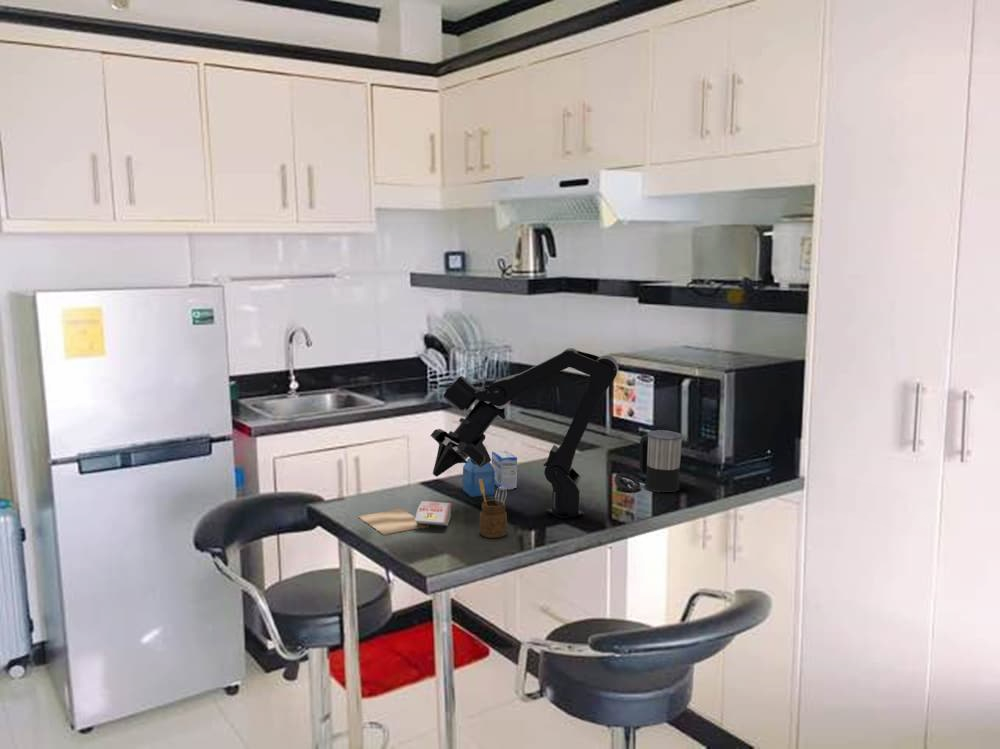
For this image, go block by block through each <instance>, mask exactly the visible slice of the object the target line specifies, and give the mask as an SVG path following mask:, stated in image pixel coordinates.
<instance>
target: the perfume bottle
mask: <svg viewBox="0 0 1000 749" xmlns="http://www.w3.org/2000/svg"><path fill="white" fill-rule="evenodd" d="M466 461H467V462H468V463H464V465H463V466H462V490H463V492H464V493H466V494H467V495H469V497H471V498H473V497H474V498H475V497H483V494H482V493H481V489H480V484H479V480H480V479H481V478H482V481H483V485H484V489H485V496H492V495H495V485H494V480H495V471H494V469H493V467H492V465H491V464H492V462H491V461H490V462H488V463H487V464H485V465H484V466H482V467H481V468H480V467H479V466H477V465H474V464H473V463H472V462H471V458H469V457H468V458H467V459H466Z"/></svg>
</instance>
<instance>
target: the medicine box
mask: <svg viewBox="0 0 1000 749" xmlns="http://www.w3.org/2000/svg"><path fill="white" fill-rule="evenodd" d="M491 465H492V467H493V469H494V471H495V480H494V486H495V487H497V488H498V487H499V490H502V491H503V490H504V491H507V489H508V490H514V488H516V489H517V483H518V482H517V480H518V479H517V478H518V477H517V474H518V473H517V472H518V457H517V456H515V455H514V454H512V452H510V451H508V450H503V449H502V450H493V451H492V450H491ZM500 486H502V487H501V488H500ZM503 488H504V489H503Z"/></svg>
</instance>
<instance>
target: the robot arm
mask: <svg viewBox="0 0 1000 749" xmlns="http://www.w3.org/2000/svg"><path fill="white" fill-rule="evenodd" d="M568 368H571V369H574V370H576V371H579V372H581V373H582V374H586V375H589V377H588V380H587V381H588V382H587V384H586V385H587V386H586V391H585V393H584V395H583V397H582V400H581V401H580V404H579V406H578V408H577V411H576V413H575V415H574V417H573V418H572V422H571V423H570V426H569V427H568V430H567V432H566V433H565V437H564V439H563V441H562V442H561V443H560V445H559V446H557V445H555V444H553V445H552V447H551V449H550V450H549V455H548V457H547V458H546V460H545V462H544V463H543V467H544V472H543V473H544V476H545V479H546V481H548V483H550V484H551V487H552V491H551V493H552V496H551V498H552V499H551V508H548V509H546V512H548V514H549V513H550V514H552V515H553V516H555V517H558V518H560V519H568V518H572V517H573V518H574V517H578V516H583V515H585V513H584V511H582V510H580V489H579V487H578V485H579V483H580V480H581V475H580V474H579V473H578V472H577V471H576V469H575V468H573V465H574V462H575V458H576V455H577V454H576V453H577V448H578V447H579V444H580V442H581V440H582V437H583V436H584V433H585V432H586V429H587V427H588V425H589V424H590V421H591V418H592V416H593V415H594V412H595V410H596V408H597V405H598V404H599V401H600V399H601V398H602V396H603V395H604V394H605V392H607V390H608V388H609V387H610V385H611V384H612V383H613V381H614V380H615V379H616V376H617V375H618V372H619V364H618V362H617V360H616V359H615V358H614V357H613V356H610V355H601V356H599V355H595V354H592V353H588V352H584V351H580V350H578V349H575V348H572V347H571V348H570V347H569V348H567V349H565V350H564V351H562V352H561V353H559V354H557V355H555V356H552V357H550V358H548V359H547V360H545V361H543V362H541V363H540V362H539V363H538V364H537V365H535V366H533V367H531V368H529V369H526V370H524V371H523V372H520V373H516V374H512V375H509V376H508V375H507V376H505V377H501V378H498V379H496V380H495V381H493V382H492V383H491V384H489V385H488V386H482V387H480V388H479V389H478V388H477V387H476V386H475V385H473V384H472V383H470V382H469V381H468V380H467V379H466V377H464V376H463V375H460V376H458V378H457V379H456V380H455V381H454V382H453V383H452V384H451V385H450V386H449V387H448V389H447V390H446V391H445V393H444V394H443V396H442V398H443V399H444V400H445V401H447V402H448V403H450V404H451V406H453V407H455V409H457V410H459V411H460V412H464V411H467V412H468V411H469V410H470V409H471V408H472V406H473V405H474V406H473V408H472V409H471V410H470V412H469V413H468V414H467V415H466V416H465V418H463V417H460V418H459V420H458V422H459V423H460V424H459V425H458V426H457V428H456V429H455V430H454V431H452V430H450V431H449V432H447V431H445V430H444V429H441V428H437V429H434V430H433V431H432V433H431V434H430V437H431V438H432V439H434V440H435V441H436V443H437V444H438V449H437V454H436V457H435V458H436V459H435V462H434V467H433V470H432V475H433V476H435V477H439V476H440V475H442V474H443V473H445V472H446V471H447V470H449V469H451V468H452V467H453V466H455V465H457V464H465V463H468V462H467V460H468V459H469V458H471V462H472V463H473V464H474V465H477V466H479V467H480V468H481V467H482V466H484V465H485V464H487V463H488V462H490V463H491V462H492V457H490V454H489V452H488V450H487V447H486V446H485V444H484V443H483V442H484V441H485V439H486V435H485V432H486V431H487V430H488V429H489V428H490V426H491V425H492V424H493V422H494V421H495V420H496V419H498V420H500V421H501V422H504V421H505V419H506V413H505V411H506V409H505V407H503V408H499V407H502V406H505V405H506V404H508V403H509V402H510V401H512V400H513V399H514V398H515V397H517V396H519V394H521V393H522V392H524V391H525V390H526V389H528V388H530V387H532V386H533V385H535V384H537V383H540V382H542V381H543V380H545V379H548V378H549V377H552V376H554V375H555V374H558V373H561V372H562V371H564V370H566V369H568ZM476 402H477V403H476ZM475 403H476V404H475Z"/></svg>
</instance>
